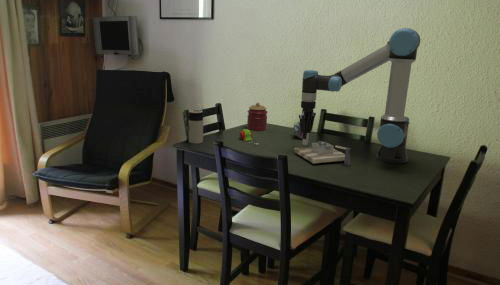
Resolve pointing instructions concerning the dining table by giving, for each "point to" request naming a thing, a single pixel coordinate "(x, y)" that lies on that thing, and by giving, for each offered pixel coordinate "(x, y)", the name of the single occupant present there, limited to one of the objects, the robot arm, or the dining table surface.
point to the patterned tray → (317, 158)
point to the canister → (257, 118)
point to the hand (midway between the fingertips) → (305, 144)
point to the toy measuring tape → (246, 135)
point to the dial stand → (346, 155)
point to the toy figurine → (297, 130)
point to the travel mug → (195, 126)
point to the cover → (322, 148)
